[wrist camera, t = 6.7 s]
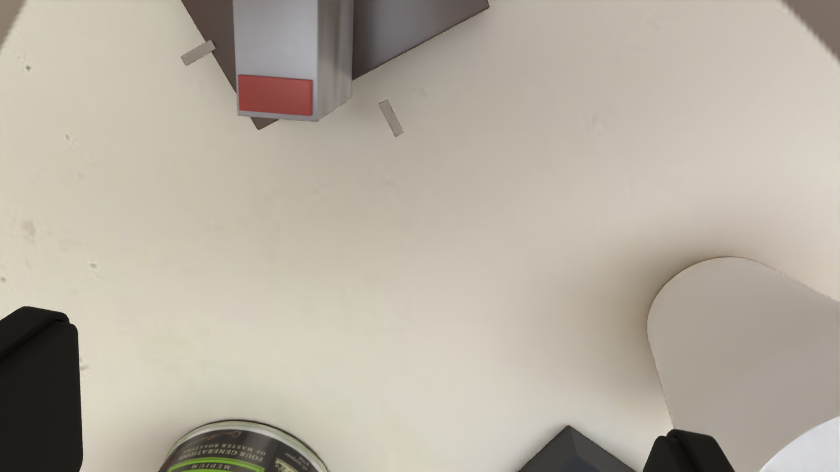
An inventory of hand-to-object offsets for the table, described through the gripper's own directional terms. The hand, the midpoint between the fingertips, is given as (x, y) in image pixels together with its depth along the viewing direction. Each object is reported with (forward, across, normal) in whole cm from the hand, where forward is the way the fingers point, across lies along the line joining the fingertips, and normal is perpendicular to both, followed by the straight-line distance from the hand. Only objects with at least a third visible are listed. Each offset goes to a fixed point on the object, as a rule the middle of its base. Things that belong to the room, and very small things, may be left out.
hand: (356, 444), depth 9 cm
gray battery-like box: (+15, +5, -7) cm, 17 cm away
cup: (+18, -15, +4) cm, 24 cm away
